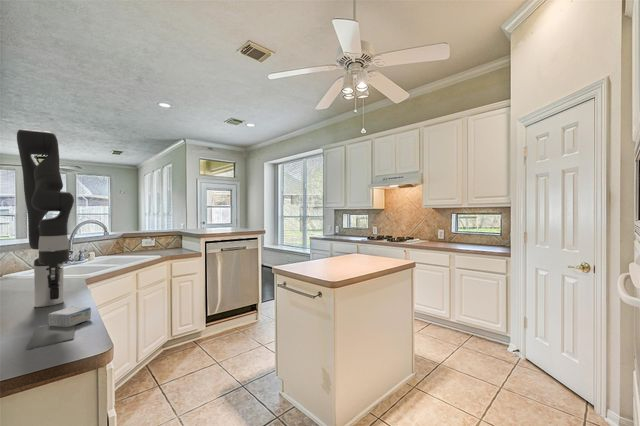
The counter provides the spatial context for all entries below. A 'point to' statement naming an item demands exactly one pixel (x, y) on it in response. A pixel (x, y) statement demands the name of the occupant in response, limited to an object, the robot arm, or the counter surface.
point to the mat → (50, 336)
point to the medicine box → (69, 316)
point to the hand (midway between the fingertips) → (54, 298)
